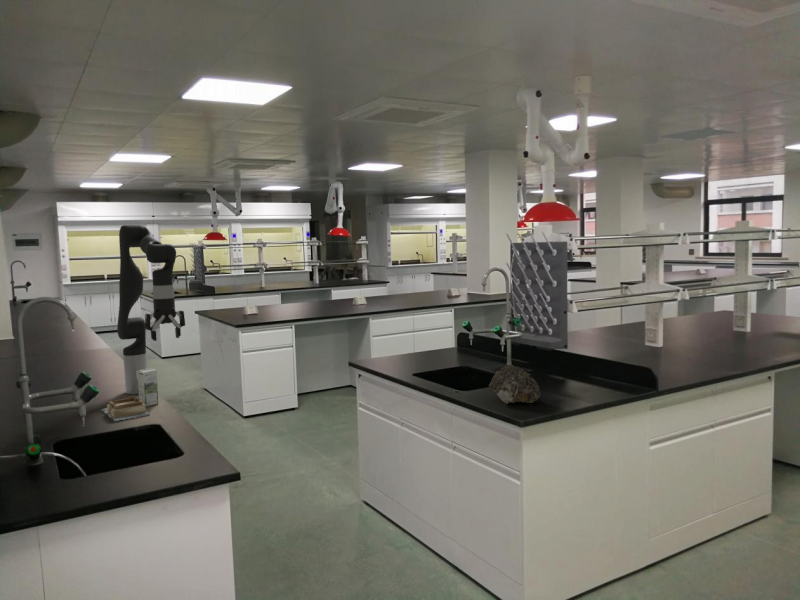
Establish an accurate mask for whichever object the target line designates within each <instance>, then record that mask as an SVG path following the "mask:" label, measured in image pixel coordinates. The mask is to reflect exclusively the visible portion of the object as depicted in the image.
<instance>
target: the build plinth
mask: <svg viewBox="0 0 800 600" xmlns="http://www.w3.org/2000/svg"><path fill="white" fill-rule="evenodd" d="M146 409H147V407H146V406H145V404H144V403H143V401H141V400H140V399H138V397H137V396H133V397H127V398H123V399H115V400H109V401H108V404H106V408H102V409H101V412H102V411H103V413H104V414H105V415H106V414H107V415H108V416H107V415H106V416H107V417H109V418H110V417H111V418H112V419H113V420H112V419H111V418H110V419H111V420H112V421H114V420H115V421H119V420H124V421H126V420H125V419H129V420H131V419H130V418H134V419H136V418H135V417H139V418H142V417H141V416H144V417H148V416H147V415H149V416H150V412H148V411H147V410H146ZM115 421H114V422H115ZM119 422H120V421H119Z"/></svg>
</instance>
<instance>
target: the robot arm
mask: <svg viewBox="0 0 800 600" xmlns="http://www.w3.org/2000/svg"><path fill="white" fill-rule="evenodd" d="M118 235H119V236H118V238H119V239H118V240H119V241H118V242H119V260H120V262H119V284H118V287H119V288H118V289H119V295H118V296H119V307H118V317H117V326H116V327H117V329H116V330H117V335H118V338H119V340H123V341H124V340H134V339H135V341H134V342H132V343H131V344H129V345H128V346H125V347H124V348H123V349H122V354H123V355H122V358H123V367H124V368H123V370H124V371H123V372H124V386H125V394H126V395H138V389H137V371H138V370H144V369H148V360H147V342H146V341H147V340H146V339H147V331H150V338H151V340H152V341H153V342H156V341H157V331H156V329H158V327H159V326H160V325H164V324H173V326H174V327H175V328H174V329H175V330H174V331H175V338H176V339H180V337H181V336H182V333H181V328H183V327H185V326H186V317H185V311H183V310H180V309H179V310H178V311H176V304H175V302H176V301H175V289H174V282H173V281H174V279H173V274H174V271H173V270H174V265H175V262H176V258H177V249H176V248H175V246H174V245H173V244H170V243H162V242H161V241H159V240H158V239H156V238H155V237H154V235H153V234H152V232H151V230H150V229H149V228H148V227H147V226H145V225H142V224H124V225H121V226H120V229H119V233H118ZM130 248H140V250H141V251H142V253H143V254H145V257H146V260H147V261H148V262H149V263H151V264H164V265H163V267H161V268H158V269H155V270H153V271H152V275H151V276H152V304H153V313H145V314H144V318H143V317H142V316H141V317H140V316H139V317H137V316H136V317H129V316H130V313H131V310H132V308H133V307H134V305H135V304H136V303H137V301H138V300H139V299H140V297H141V295H142V293H143V291H144V274H143V273H142V272H141V269H139V267H138V265H136V263H135V262H134V259H133V258H132V256H131V252H130V251H131V250H130ZM176 316H177V317H178V319H179V322H178V321H177V319H176ZM153 318H154V322H153V323H152V325H151V320H152V319H153Z"/></svg>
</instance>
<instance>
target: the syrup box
mask: <svg viewBox="0 0 800 600" xmlns="http://www.w3.org/2000/svg"><path fill="white" fill-rule="evenodd" d="M157 371H158V370H157V369H154V368H152V367H151V368H147V369H144V370H138V371H137V389H138V394H137V398H138V399H140V400H141V401H143V403H144V404H145V406H146V408H148V407H152V406H156V405H159V393H158V373H157Z"/></svg>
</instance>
